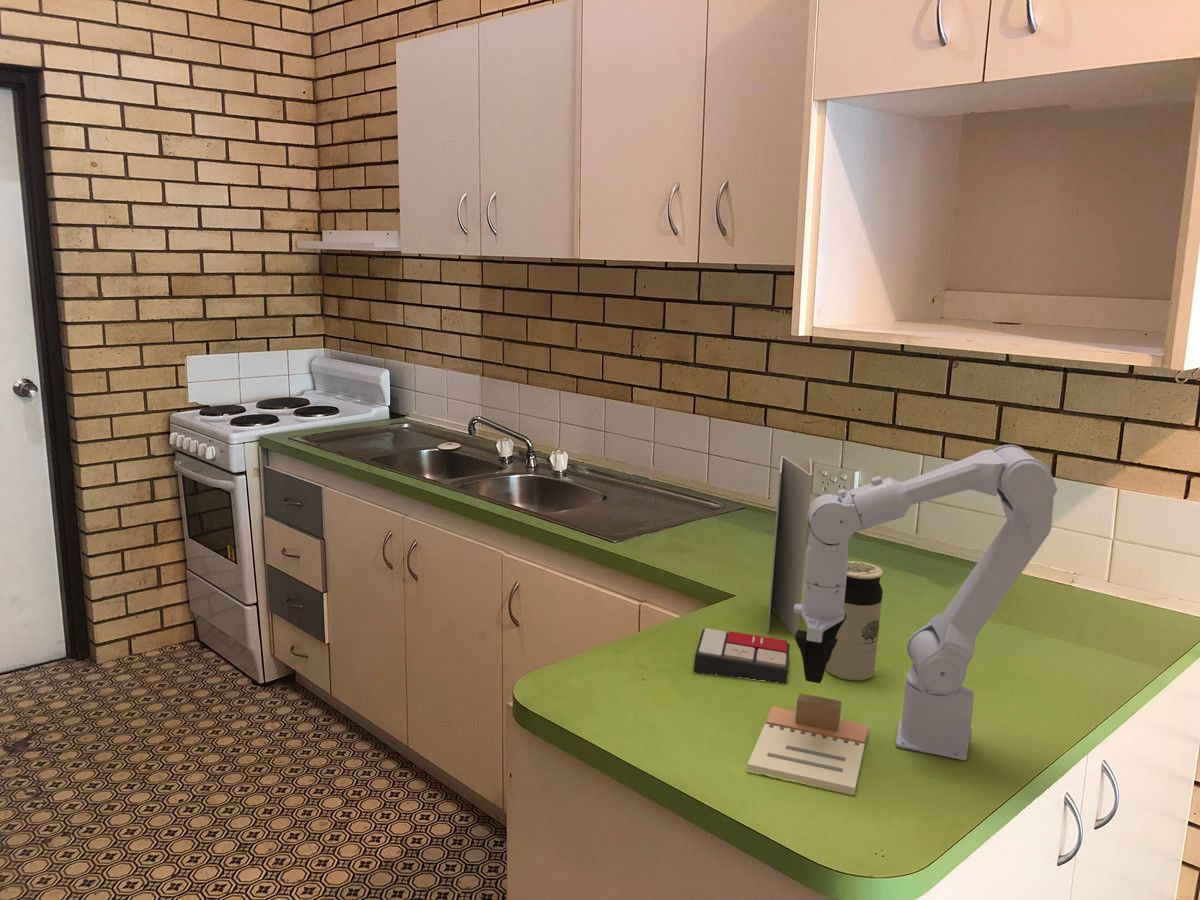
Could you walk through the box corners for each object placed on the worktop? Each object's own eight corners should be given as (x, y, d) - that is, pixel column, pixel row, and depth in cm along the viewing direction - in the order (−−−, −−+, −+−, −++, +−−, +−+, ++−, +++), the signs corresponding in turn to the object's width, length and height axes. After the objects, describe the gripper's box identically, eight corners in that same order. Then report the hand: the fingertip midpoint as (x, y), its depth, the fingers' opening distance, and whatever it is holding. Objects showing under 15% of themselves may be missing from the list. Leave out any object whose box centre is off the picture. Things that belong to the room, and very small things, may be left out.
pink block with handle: (867, 733, 142) (871, 702, 140) (864, 749, 137) (867, 718, 136) (771, 713, 146) (774, 684, 145) (765, 729, 142) (767, 698, 141)
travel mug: (815, 664, 164) (824, 562, 160) (855, 658, 167) (865, 558, 163) (842, 684, 157) (853, 578, 153) (883, 678, 160) (895, 574, 156)
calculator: (789, 665, 156) (695, 649, 159) (785, 690, 157) (692, 673, 160) (790, 638, 166) (703, 624, 169) (787, 662, 167) (700, 647, 170)
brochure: (798, 637, 175) (812, 475, 168) (766, 634, 176) (779, 472, 170) (798, 609, 189) (811, 458, 182) (769, 606, 190) (781, 455, 183)
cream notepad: (863, 751, 136) (864, 743, 136) (854, 796, 125) (855, 786, 125) (764, 731, 141) (765, 723, 141) (746, 772, 130) (747, 763, 130)
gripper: (805, 561, 145) (798, 646, 148) (787, 592, 132) (780, 685, 135) (853, 568, 143) (845, 654, 146) (840, 601, 129) (832, 695, 132)
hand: (817, 670), depth 140 cm, fingers open, 7 cm apart
